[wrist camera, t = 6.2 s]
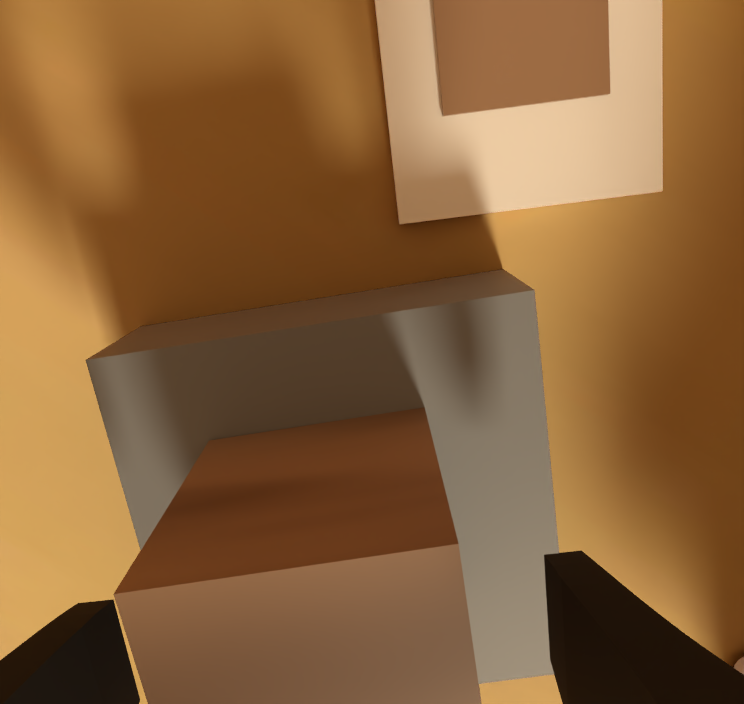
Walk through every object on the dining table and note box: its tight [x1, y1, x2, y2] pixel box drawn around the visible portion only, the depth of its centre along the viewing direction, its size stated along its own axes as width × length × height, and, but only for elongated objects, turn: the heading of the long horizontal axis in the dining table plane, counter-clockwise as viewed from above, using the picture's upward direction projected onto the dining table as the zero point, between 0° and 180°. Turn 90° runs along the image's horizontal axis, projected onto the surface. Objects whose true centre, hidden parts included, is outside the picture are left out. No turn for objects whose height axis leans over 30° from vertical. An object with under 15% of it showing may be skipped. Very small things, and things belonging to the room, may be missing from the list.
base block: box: [86, 269, 559, 684], centre depth 15 cm, size 9×9×4 cm
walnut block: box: [114, 407, 481, 704], centre depth 11 cm, size 4×4×5 cm
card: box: [374, 0, 663, 224], centre depth 13 cm, size 8×6×1 cm
